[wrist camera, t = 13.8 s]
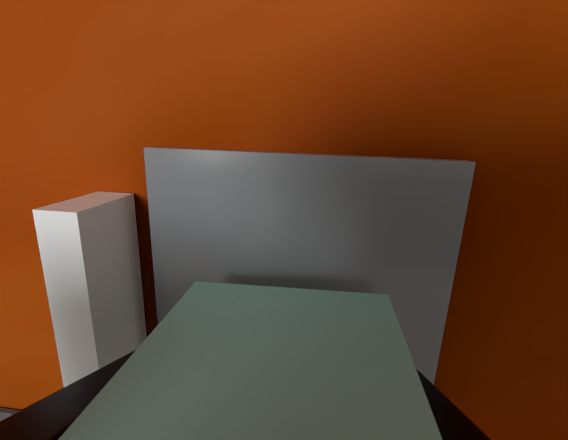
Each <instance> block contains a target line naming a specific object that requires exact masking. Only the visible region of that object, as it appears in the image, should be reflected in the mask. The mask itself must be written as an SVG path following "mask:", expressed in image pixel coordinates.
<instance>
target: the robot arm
mask: <svg viewBox="0 0 568 440" xmlns="http://www.w3.org/2000/svg"><path fill="white" fill-rule="evenodd" d="M136 350H137V349H136ZM136 350H134V351H132V352H130V353H128V354H127V355H125V356H123V357H121V358H119V359H117V360H115V361H113V362H111V363H110V364H108V365H106V366H104V367H102V368H100V369H98V370H96V371H94V372H92V373H91V374H89V375H87V376H85V377H83V378H81V379H79V380H77V381H75V382H74V383H72V384H70V385H68V386H66V387H64V388H62V389H60V390H58V391H56V392H55V393H53V394H51V395H49V396H47V397H45V398H43V399H41V400H39V401H38V402H36V403H34V404H32V405H30V406H28V407H26V408H24V409H22V410H20V411H19V412H17V413H15V414H13V415H11V416H9V417H7V418H5V419H3V420H2V421H0V440H58V439H59V438H60V437H61V436H62V435H63V434H64V432H65V431H66V430H67V429H68V428H69V427H70V425H71V424H72V423H73V422H74V421H75V420H76V419H77V417H78V416H79V415H80V414H81V413H82V412H83V411H84V409H85V408H86V407H87V406H88V405H89V404H90V402H91V401H92V400H93V399H94V398H95V397H96V396H97V394H98V393H99V392H100V391H101V390H102V389H103V388H104V386H105V385H106V384H107V383H108V382H109V381H110V379H111V378H112V377H113V376H114V375H115V374H116V373H117V371H118V370H119V369H120V368H121V367H122V366H123V365H124V363H125V362H126V361H127V360H128V359H129V358H130V356H131V355H132V354H133V353H134V352H135V351H136ZM416 370H417V369H416ZM417 373H418V375H419V378H420V381H421V384H422V386H423V389H424V392H425V394H426V397H427V400H428V402H429V405H430V408H431V410H432V413H433V416H434V418H435V421H436V424H437V426H438V429H439V432H440V435H441V437H442V440H491V439H490V438H489V437H488V436H487V435H486V434H485V433H483V432H482V431H481V430H480V429H479V428H478V427H477V426H476V425H475V424H474V423H473V422H472V421H471V420H470V419H469V418H468V417H467V416H466V415H465V414H464V413H463V412H462V411H461V410H459V409H458V408H457V407H456V406H455V405H454V404H453V403H452V402H451V401H450V400H449V399H448V398H447V397H446V396H445V395H444V394H443V393H442V392H441V391H440V390H439V389H438V388H437V387H435V386H434V385H433V384H432V383H431V382H430V381H429V380H428V379H427V378H426V377H425V376H424V375H423V374H422V373H421V372H420V371H419V370H417Z"/></svg>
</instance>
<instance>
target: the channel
mask: <svg viewBox="0 0 568 440" xmlns="http://www.w3.org/2000/svg"><path fill="white" fill-rule="evenodd" d="M32 211H33V217H34V222H35V228H36V233H37V239H38V245H39V250H40V256H41V261H42V267H43V273H44V278H45V284H46V290H47V295H48V301H49V306H50V312H51V318H52V323H53V329H54V334H55V340H56V346H57V351H58V357H59V362H60V368H61V374H62V379H63V385H64V387H66V386H68V385H70V384H72V383H74V382H75V381H77V380H79V379H81V378H83V377H85V376H87V375H89V374H91V373H92V372H94V371H96V370H98V369H100V368H102V367H104V366H106V365H108V364H110V363H111V362H113V361H115V360H117V359H119V358H121V357H123V356H125V355H127V354H128V353H130V352H132V351H134V350H136V349H137V348H138V347H139V346H140V345H141V344H142V343H143V342H144V340H145V339H146V338H147V334H146V323H145V312H144V301H143V290H142V279H141V268H140V257H139V246H138V235H137V224H136V213H135V202H134V194H132V193H115V192H95V193H91V194H88V195H84V196H80V197H77V198H73V199H69V200H66V201H62V202H58V203H55V204H51V205H47V206H44V207H40V208H36V209H33V210H32ZM19 411H20V410H14V409H7V408H0V421H2V420H3V419H5V418H7V417H9V416H11V415H13V414H15V413H17V412H19Z"/></svg>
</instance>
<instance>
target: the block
mask: <svg viewBox="0 0 568 440" xmlns="http://www.w3.org/2000/svg"><path fill="white" fill-rule="evenodd" d="M58 440H442V437H441V435H440V432H439V429H438V426H437V424H436V421H435V418H434V416H433V413H432V410H431V408H430V405H429V402H428V400H427V397H426V394H425V392H424V389H423V386H422V384H421V381H420V378H419V375H418V373H417V370H416V367H415V365H414V362H413V359H412V357H411V354H410V351H409V349H408V346H407V343H406V341H405V338H404V335H403V333H402V330H401V327H400V324H399V322H398V319H397V316H396V314H395V311H394V308H393V306H392V303H391V300H390V298H389V295H388V294H373V293H359V292H344V291H329V290H315V289H300V288H286V287H271V286H256V285H242V284H227V283H213V282H198V281H196V282H195V283H194V284H193V285H192V286H191V288H190V289H189V290H188V291H187V292H186V293H185V294H184V296H183V297H182V298H181V299H180V300H179V301H178V302H177V304H176V305H175V306H174V307H173V308H172V309H171V311H170V312H169V313H168V314H167V315H166V316H165V317H164V319H163V320H162V321H161V322H160V323H159V324H158V325H157V327H156V328H155V329H154V330H153V331H152V332H151V334H150V335H149V336H148V337H147V338H146V339H145V340H144V342H143V343H142V344H141V345H140V346H139V347H138V348H137V350H136V351H135V352H134V353H133V354H132V355H131V356H130V358H129V359H128V360H127V361H126V362H125V363H124V365H123V366H122V367H121V368H120V369H119V370H118V371H117V373H116V374H115V375H114V376H113V377H112V378H111V379H110V381H109V382H108V383H107V384H106V385H105V386H104V388H103V389H102V390H101V391H100V392H99V393H98V394H97V396H96V397H95V398H94V399H93V400H92V401H91V402H90V404H89V405H88V406H87V407H86V408H85V409H84V411H83V412H82V413H81V414H80V415H79V416H78V417H77V419H76V420H75V421H74V422H73V423H72V424H71V425H70V427H69V428H68V429H67V430H66V431H65V432H64V434H63V435H62V436H61V437H60V438H59V439H58Z"/></svg>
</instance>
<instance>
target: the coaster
mask: <svg viewBox="0 0 568 440" xmlns="http://www.w3.org/2000/svg"><path fill="white" fill-rule="evenodd" d="M144 158H145V171H146V183H147V196H148V209H149V221H150V234H151V246H152V259H153V271H154V284H155V296H156V309H157V321H158V324H159V323H160V322H161V321H162V320H163V319H164V317H165V316H166V315H167V314H168V313H169V312H170V311H171V309H172V308H173V307H174V306H175V305H176V304H177V302H178V301H179V300H180V299H181V298H182V297H183V296H184V294H185V293H186V292H187V291H188V290H189V289H190V288H191V286H192V285H193V284H194V283H195V282H196V281H198V282H213V283H227V284H242V285H256V286H271V287H286V288H300V289H315V290H329V291H344V292H359V293H373V294H388V295H389V298H390V300H391V303H392V306H393V308H394V311H395V314H396V316H397V319H398V322H399V324H400V327H401V330H402V333H403V335H404V338H405V341H406V343H407V346H408V349H409V351H410V354H411V357H412V359H413V362H414V365H415V367H416V369H417V370H419V371H420V372H421V373H422V374H423V375H424V376H425V377H426V378H427V379H428V380H429V381H430V382H431V383H432V384H433V385H434V381H435V376H436V370H437V365H438V360H439V354H440V349H441V344H442V339H443V333H444V328H445V323H446V318H447V312H448V307H449V302H450V296H451V291H452V286H453V281H454V275H455V270H456V265H457V260H458V254H459V249H460V244H461V238H462V233H463V228H464V223H465V217H466V212H467V207H468V201H469V196H470V191H471V186H472V180H473V175H474V170H475V165H476V162H474V161H469V160H457V159H433V158H410V157H387V156H364V155H341V154H318V153H294V152H271V151H248V150H225V149H202V148H179V147H156V146H154V147H144Z"/></svg>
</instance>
